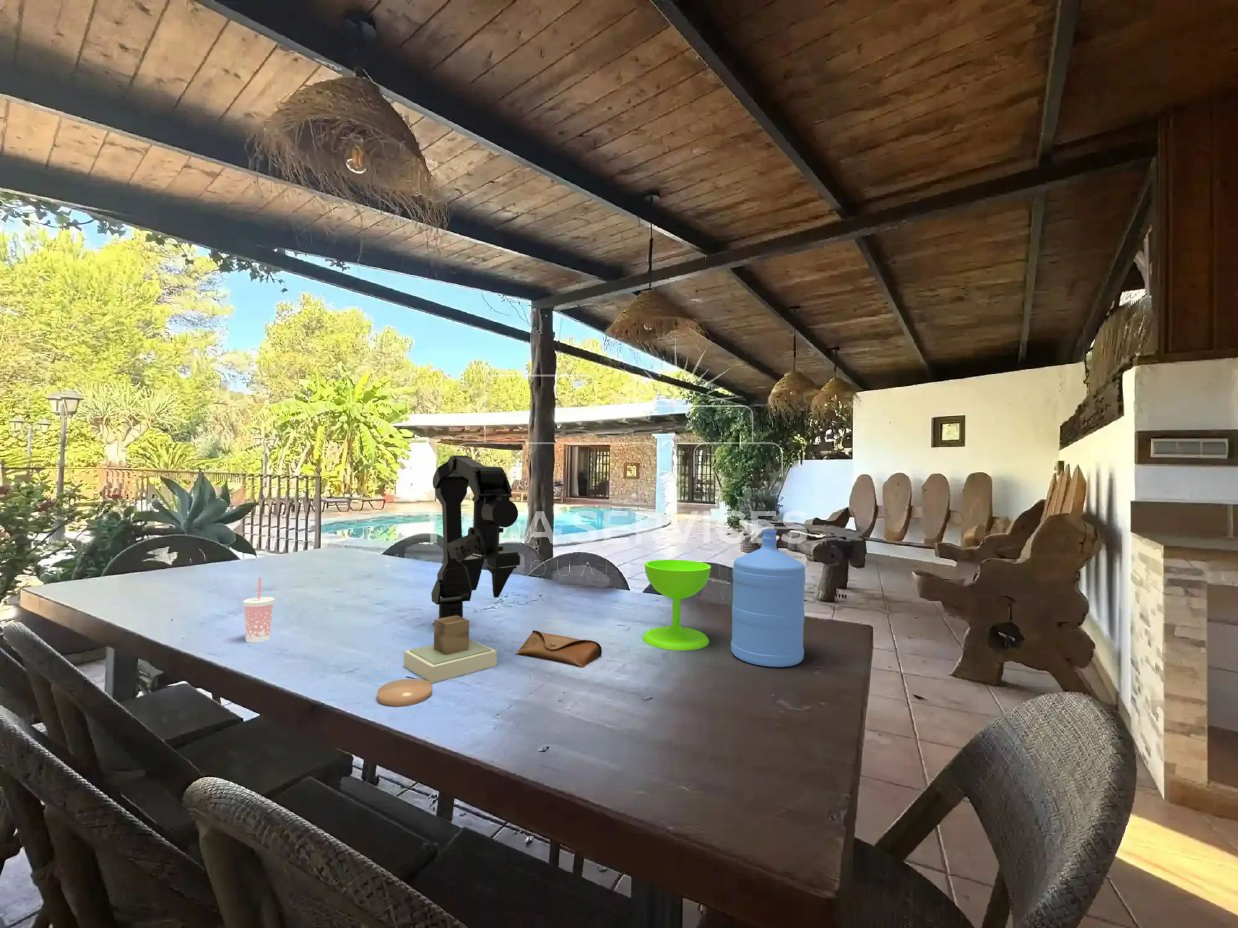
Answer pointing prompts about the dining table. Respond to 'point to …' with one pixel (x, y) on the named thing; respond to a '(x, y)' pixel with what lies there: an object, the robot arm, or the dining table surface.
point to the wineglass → (676, 601)
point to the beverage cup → (258, 617)
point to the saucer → (404, 692)
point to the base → (449, 661)
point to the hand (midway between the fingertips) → (484, 593)
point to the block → (451, 635)
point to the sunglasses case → (560, 649)
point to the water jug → (768, 606)
